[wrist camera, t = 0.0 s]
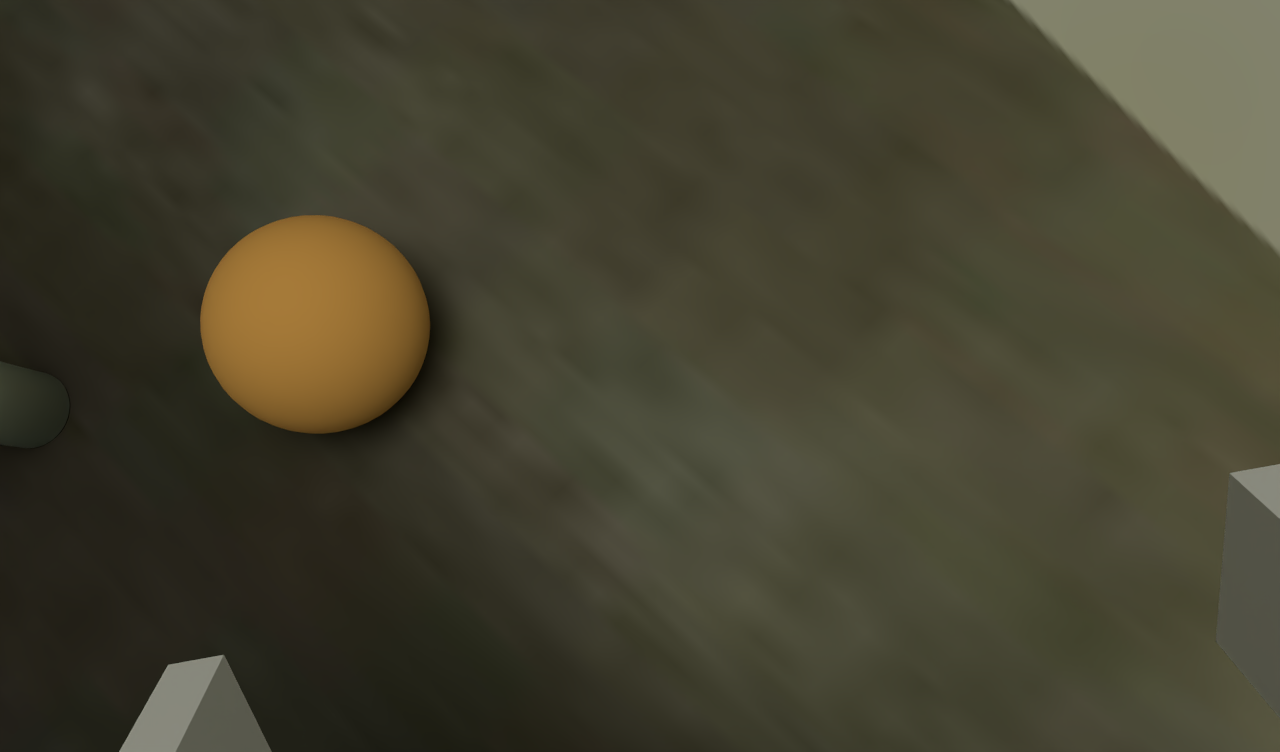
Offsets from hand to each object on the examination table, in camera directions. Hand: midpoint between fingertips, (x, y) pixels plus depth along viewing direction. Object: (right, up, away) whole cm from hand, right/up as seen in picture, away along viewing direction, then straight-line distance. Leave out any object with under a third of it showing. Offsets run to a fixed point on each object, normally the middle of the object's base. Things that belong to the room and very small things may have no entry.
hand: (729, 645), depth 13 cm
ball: (-10, +5, +14) cm, 18 cm away
